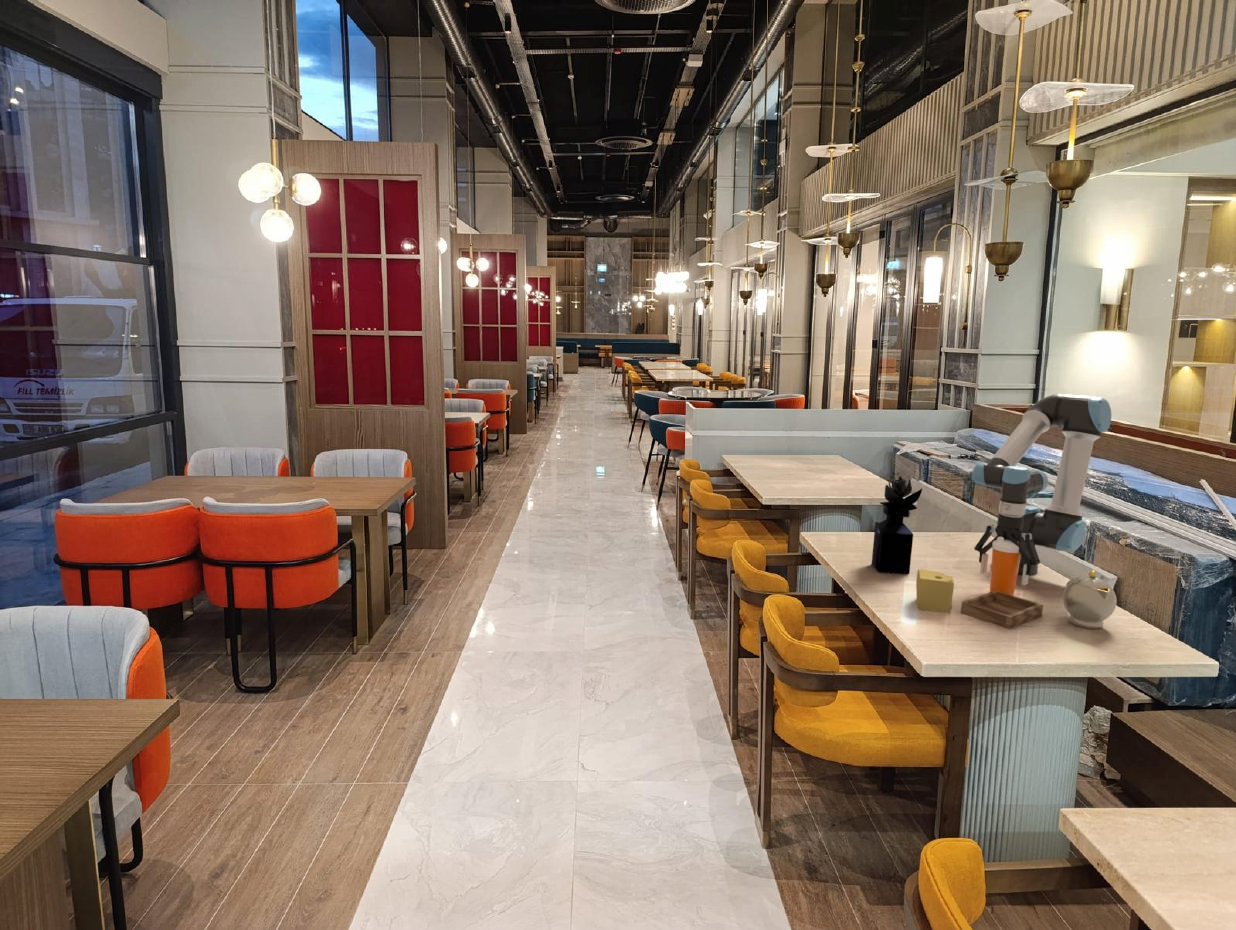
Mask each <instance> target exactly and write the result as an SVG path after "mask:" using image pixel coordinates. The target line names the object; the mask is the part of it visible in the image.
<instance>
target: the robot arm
mask: <svg viewBox="0 0 1236 930" xmlns="http://www.w3.org/2000/svg"><path fill="white" fill-rule="evenodd" d="M1111 423H1112V409H1111V405H1110V403H1109V401H1108V400H1107V399H1105V398H1104V397H1099V396H1094V395H1093V396H1092V395H1079V394H1068V393H1067V394H1066V393H1055V394H1051V395H1048V396H1046V397H1043V398H1042V399H1040V400H1038V401H1036V402H1035V403H1034V404H1032V405H1030V407H1029V408H1027V410H1026V411H1025V412H1024V413H1023V415H1022V420H1021V421H1020V423H1019V424H1018V425H1017V427H1015V429H1014V430H1013V432H1012V433H1010V435H1009V436H1008V438H1007V439H1006V440H1005V442H1004V443H1003V444H1002V445H1001V446H1000V447H999V449H998V450H997V451H996V452H995V453H994V455H993V456H992V458H991V459H989V460H988V462H979V463H976V464H975V465H974V467H973V470H972V480H973V481H974V483H975V484H977V485H980V486H984V487H989V488H997V489H1001V492H1000V498H999V506H998V507H999V508H998V512H999V514H997V522H996V525H997V526H994V524H988V525H987V526H986V529H985V532H984V533H983V534H982V536H981V537H980V538H979V541H978V542H977V544H976V545H975V546H974V548H973V549H974V551H976V552H978V553H979V557H978V558H979V559H978V562H979V563H980V571H979V574H980V575H982V574H985V573H987V571H988V562H989V553H988V551H990V550H991V549H992V544H993V541H995V540H997V539H996V538H997V536H1002V537H1007V538H1009V539H1007V540H1010V541H1012V543H1014V544H1015V545H1016V546H1018V547H1019V553H1020V554H1021V558H1020V564H1019V569H1018V575H1022V576H1021V586H1026V585H1028V584H1029V578H1030V576H1031V575H1033V574H1037V573H1038V570H1039V564H1041V561H1040V557H1039V554H1038V552H1037V550H1036V546H1037V547H1043V548H1047V549H1052V550H1056V551H1058V552H1065V553H1073V552H1075V551H1077V550H1078V549H1079V548H1080V547H1081V546H1082V544H1083V542H1084V540H1085V538H1086V535H1087V531H1088V528H1087V527H1088V525H1087V522H1085V521H1084V520H1083V516H1084V515H1083V514H1082V512H1081V511H1080V506H1081V501H1082V498H1083V492H1084V488H1085V483H1086V478H1087V475H1088V470H1089V465H1090V461H1091V456H1092V451H1093V448H1094V447H1093V446H1094V443H1095V441H1097V440H1098V439H1100V438H1101V434H1102V433H1106V432H1107V431H1108V430H1109V428H1110V427H1111ZM1053 427H1055V428H1056V427H1059V428H1061V433H1062V434H1063V436H1064V437H1065V440H1064V442H1063V443H1064V445H1063V448H1062V452H1061V456H1060V457H1061V458H1060V461H1059V466H1058V467H1059V468H1058V471H1057V475H1056V480H1055V484H1054V485H1055V486H1054V489H1053V495H1052V499H1051V504H1049V505H1048V506H1047V507H1045V508H1044V512H1041V508H1040V507H1039V506H1034V505H1027V498H1028V495H1032V494H1033V495H1034V494H1039V493H1040V492H1043V491H1045V490H1046V488H1047V487H1048V486H1049V485H1048V484H1049V478H1048V476H1047V474H1046V473H1045V472H1044V471H1042V470H1040V469H1029V468H1028V467H1025V466H1019V465H1017V464H1018V463H1019V462H1020V461H1021V460H1022V458H1023V457H1024V456H1025V455H1026V453H1027V452H1028V451H1029V450H1030V449H1031V448H1032V446H1033V445H1034V443H1035V442H1036V441H1037V440H1038V438H1039V437H1040V436H1041V435H1042V434H1043V433H1046V432H1048V431H1049V429H1050V428H1053ZM993 533H996V535H997V536H995V537H994V538H993V539H992V540H990V541H989V542H988V543H987V541H988V540H989V539H990V537H991V536H992V534H993ZM1021 538H1022V539H1021ZM1018 541H1019V543H1018ZM986 543H987V544H986ZM985 544H986V545H985ZM990 565H991V566H992V563H991V564H990Z"/></svg>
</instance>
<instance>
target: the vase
mask: <svg viewBox="0 0 1236 930" xmlns="http://www.w3.org/2000/svg"><path fill="white" fill-rule="evenodd" d="M892 475H895V476H897V478H898V479H896V478H895V477H893V476H892ZM892 475H891V476H890V479H894V480H891V481H890V480H888V484H885V485H884V498H885V500H886V501H885V502H884V501H883V502H881V501H880V502H878V503H879V504H880V505H882V506H883V509H882V512H883V514H885V516H886V519H884V520H882V521H880V522H878V523H877V524H875V525H874V534H873V544H872V555H871V565H872V567H873V568H874V570H875V571H876V572H877V573H878V574H893V573H894V574H896V575H908V574H909V575H910V570H911V560H912V550H913V541H914V534H913V532H912V531H911V530H910V529H909V528H908V526H907V525H906V524H905V523H904V518H910V516H911V515H910V513H911V511H914V510H917V509H918V507H917V506H915V503H917V502H918V501H919V499H920V498H921V497H920V496H921V494H922V491H923V488H920V489H919V490H917V491H915V492H912V490H913V486H912V483H911V479H910V478H909V479H908V483H907V479H906V478H903V477H902V476H901V475H900V474H899V472H897V473H895V472H893V473H892ZM906 483H907V484H906ZM906 485H907V486H906Z"/></svg>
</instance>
